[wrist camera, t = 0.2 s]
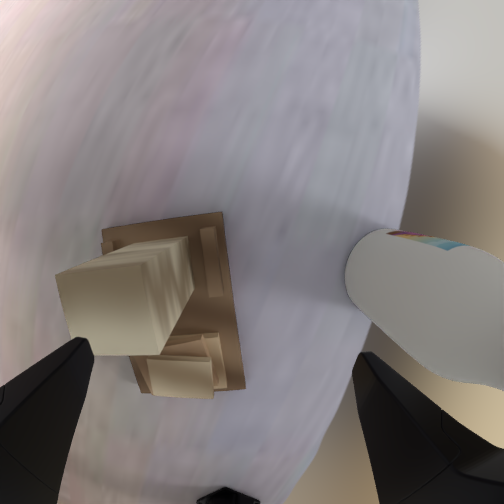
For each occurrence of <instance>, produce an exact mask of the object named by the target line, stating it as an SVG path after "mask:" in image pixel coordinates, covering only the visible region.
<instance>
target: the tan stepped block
mask: <svg viewBox="0 0 504 504" xmlns="http://www.w3.org/2000/svg"><path fill="white" fill-rule="evenodd" d="M102 236H103V243H101V247H102V253H103V255H105V254H108V253H110V252H113V251H115V250H118V249H121V248H123V247H126V246H128V245H131V244H134V243H141V242H148V241H156V240H163V239H171V238H179V237H186V236H188V241H189V248H190V255H191V262H192V269H193V275H194V282H195V289H194V291H193V292H192V294H191V296H190V298H189V300H188V302H187V304H186V306H185V307H184V309H183V311H182V313H181V315H180V317H179V319H178V321H177V323H176V324H175V326H174V328H173V330H172V332H171V334H170V336H169V338H168V340H167V342H166V344H165V346H164V348H163V349H162V351H161V353H160V355H132V356H129V357H130V360H131V364H132V367H133V370H134V373H135V376H136V379H137V382H138V385H139V388H140V391H141V393H151V394H152V395H154V396H166V397H180V398H200V399H213V398H214V392H215V391H229V390H240V389H246V385H245V376H244V370H243V363H242V356H241V350H240V343H239V336H238V329H237V322H236V315H235V308H234V300H233V293H232V285H231V278H230V270H229V263H228V255H227V247H226V239H225V231H224V222H223V214H222V212H216V213H208V214H200V215H193V216H185V217H178V218H171V219H164V220H157V221H150V222H144V223H137V224H131V225H125V226H119V227H113V228H107V229H102Z"/></svg>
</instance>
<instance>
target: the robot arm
mask: <svg viewBox="0 0 504 504" xmlns="http://www.w3.org/2000/svg"><path fill="white" fill-rule="evenodd" d="M93 364H94V354H93V351H92V349H91V346H90V343H89V341H88V339H87V338H83V337H75V338H73V339H72V340H70V341H69V342H67V343H66V344H64V345H63V346H61V347H60V348H58V349H57V350H55V351H54V352H52V353H51V354H49V355H48V356H46V357H45V358H43V359H42V360H40V361H39V362H37V363H36V364H34V365H33V366H31V367H30V368H28V369H27V370H25V371H24V372H22V373H21V374H19V375H18V376H16V377H15V378H13V379H12V380H10V381H9V382H7V383H6V384H5V385H3V386H1V387H0V504H57V500H58V494H59V490H60V485H61V481H62V477H63V473H64V469H65V465H66V461H67V457H68V453H69V450H70V446H71V442H72V439H73V436H74V432H75V429H76V426H77V422H78V419H79V416H80V413H81V410H82V407H83V404H84V401H85V397H86V394H87V389H88V385H89V381H90V376H91V372H92V368H93ZM352 377H353V383H354V389H355V396H356V403H357V409H358V414H359V419H360V422H361V426H362V430H363V434H364V438H365V442H366V446H367V450H368V454H369V458H370V463H371V466H372V471H373V475H374V480H375V484H376V489H377V493H378V498H379V503H380V504H504V449H502V448H499V447H496V446H494V445H492V444H491V443H489V442H488V441H486V440H485V439H483V438H481V437H480V436H478V435H477V434H475V433H474V432H472V431H471V430H469V429H468V428H466V427H465V426H463V425H462V424H460V423H459V422H457V420H455V419H454V418H453V417H451V416H450V415H449V414H448V413H446V412H445V411H444V410H441V408H440V407H439V406H438V405H436V404H435V403H434V402H433V401H432V400H430V399H429V398H428V397H427V396H425V395H424V394H423V393H422V392H421V391H419V390H418V389H417V388H416V387H414V386H413V385H412V384H411V383H410V382H408V381H407V380H406V379H405V378H403V377H402V376H401V375H400V374H399V373H397V372H396V371H395V370H393V369H392V368H391V367H390V366H389V365H387V364H386V363H385V362H384V361H383V360H381V359H380V358H379V357H378V356H377V355H375V354H374V353H373V352H360V353H359V355H358V357H357V359H356V362H355V364H354V367H353V370H352ZM197 504H260V501H259V500H257V499H254V498H251V497H249V496H246V495H244V494H241V493H239V492H237V491H234V490H232V489H230V488H227V487H224V488H222V489H220V490H218V491H216V492H213V493H211V494H209V495H207V496H205V497H203V498H201V499H198V500H197Z"/></svg>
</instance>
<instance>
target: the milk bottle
mask: <svg viewBox="0 0 504 504" xmlns="http://www.w3.org/2000/svg"><path fill="white" fill-rule="evenodd" d="M345 285H346V290H347V293H348V295H349V297H350V299H351V300H352V302H353V303H354V304H355V305H356V306H357V307H358V308H359V309H360V310H361V311H362V312H363V313H364V314H365V315H366V316H367V317H368V318H369V319H371V320H372V321H373V322H374V323H375V324H376V325H377V326H378V327H379V328H380V329H381V330H383V331H384V332H385V333H386V334H387V335H388V336H389V337H390V338H391V339H392V340H394V341H395V342H396V343H397V344H398V345H399V346H400V347H401V348H402V349H403V350H405V351H406V352H407V353H408V354H409V355H411V356H412V357H413V358H414V359H415V360H416V361H418V362H419V363H420V364H421V365H423V366H424V367H425V368H427V369H428V370H430V371H431V372H433V373H435V374H436V375H439V376H441V377H443V378H446V379H449V380H452V381H458V382H464V383H474V384H481V385H487V386H491V387H494V388H497V389H500V390H502V391H504V262H502V261H501V260H500V259H498V258H497V257H495V256H494V255H492V254H490V253H488V252H486V251H483V250H481V249H479V248H475V247H472V246H469V245H465V244H461V243H458V242H454V241H449V240H445V239H441V238H436V237H432V236H427V235H422V234H416V233H412V232H406V231H401V230H395V229H379V230H376V231H373V232H371V233H369V234H367V235H366V236H365V237H363V238H362V239H361V240H360V241H359V242H358V243H357V244H356V245H355V247H354V248H353V250H352V251H351V253H350V256H349V258H348V260H347V264H346V268H345Z"/></svg>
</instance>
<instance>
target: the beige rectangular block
mask: <svg viewBox="0 0 504 504" xmlns="http://www.w3.org/2000/svg"><path fill="white" fill-rule="evenodd" d="M55 277H56V282H57V286H58V291H59V295H60V299H61V303H62V307H63V311H64V314H65V318H66V322H67V325H68V328H69V332H70V335H71V338H72V339H73V338H75V337H83V338H87V339H88V341H89V343H90V346H91V349H92V351H93V354H94V355H104V356H132V355H160V353H161V351H162V349H163V348H164V346H165V344H166V342H167V340H168V338H169V336H170V334H171V332H172V330H173V328H174V326H175V324H176V323H177V321H178V319H179V317H180V315H181V313H182V311H183V309H184V307H185V306H186V304H187V302H188V300H189V298H190V296H191V294H192V292H193V291H194V289H195V282H194V275H193V269H192V262H191V255H190V248H189V241H188V236H186V237H179V238H171V239H163V240H156V241H148V242H141V243H134V244H131V245H128V246H126V247H123V248H121V249H118V250H115V251H113V252H110V253H108V254H105V255H103V256H100V257H98V258H95V259H93V260H90V261H88V262H85V263H83V264H80V265H78V266H76V267H73V268H71V269H68V270H66V271H64V272H61V273H59V274H56V275H55Z"/></svg>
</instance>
